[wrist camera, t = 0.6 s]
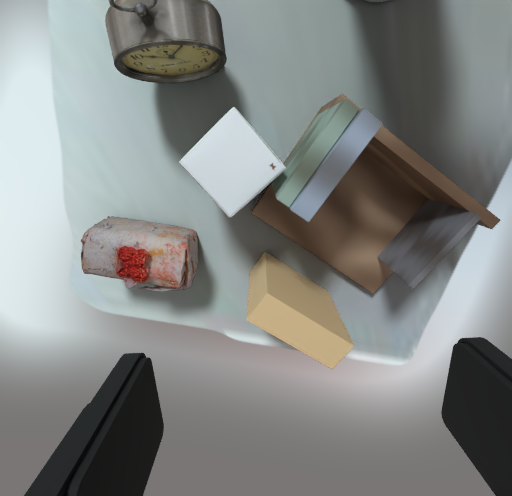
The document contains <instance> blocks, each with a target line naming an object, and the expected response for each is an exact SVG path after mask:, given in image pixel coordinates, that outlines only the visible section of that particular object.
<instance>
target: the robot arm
mask: <svg viewBox="0 0 512 496" xmlns="http://www.w3.org/2000/svg"><path fill="white" fill-rule="evenodd" d="M365 1H368V2H384V1H390V0H365ZM442 418H443V421H444V423H445V425H446V427H447V428H448V429H449V431H450V432H451V433H452V435H453V436H454V438H455V439H456V441H457V442H458V443H459V445H460V446H461V447H462V449H463V450H464V452H465V453H466V454H467V456H468V457H469V459H470V460H471V462H472V463H473V464H474V466H475V467H476V469H477V470H478V471H479V472H480V474H481V475H482V477H483V478H484V480H485V481H486V483H487V484H488V485H489V487H490V488H491V490H492V491H493V492H494V494H495V495H496V496H512V359H511V358H509V357H508V356H507V355H506V354H504V353H503V352H502V351H500V350H499V349H498V348H497V347H495V346H494V345H493V344H492V343H490V342H489V341H488V340H486V339H484V338H481V337H479V338H462V339H460V340H459V341H458V343H457V344H455V345H454V346H453V351H452V357H451V362H450V368H449V373H448V379H447V384H446V390H445V395H444V401H443V406H442ZM163 426H164V424H163V418H162V413H161V408H160V403H159V398H158V392H157V387H156V383H155V377H154V372H153V366H152V362H151V359H150V358H146V356H145V354H144V353H129V354H124V355H123V356H122V357H121V358H120V360H119V361H118V363H117V364H116V365H115V367H114V368H113V370H112V371H111V373H110V374H109V376H108V377H107V379H106V380H105V382H104V383H103V385H102V386H101V388H100V389H99V391H98V392H97V394H96V395H95V397H94V398H93V400H92V401H91V403H89V404H87V406H86V407H85V408H84V409H83V411H82V412H81V414H80V415H79V416H78V418H77V419H76V421H75V422H74V424H73V425H72V427H71V428H70V430H69V431H68V432H67V434H66V435H65V437H64V438H63V440H62V441H61V443H60V444H59V446H58V447H57V449H56V450H55V452H54V453H53V454H52V456H51V457H50V459H49V460H48V462H47V463H46V465H45V466H44V468H43V469H42V470H41V472H40V474H39V475H38V476H37V478H36V479H35V481H34V482H33V484H32V485H31V487H30V488H29V489H28V491H27V492H26V494H25V495H24V496H143V493H144V490H145V487H146V484H147V481H148V478H149V475H150V472H151V469H152V466H153V463H154V460H155V457H156V454H157V451H158V448H159V445H160V442H161V439H162V436H163V428H164V427H163Z"/></svg>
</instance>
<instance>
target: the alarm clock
mask: <svg viewBox="0 0 512 496" xmlns="http://www.w3.org/2000/svg"><path fill="white" fill-rule="evenodd" d="M109 3H110V7H109V9H108V11H107V14H106V28H107V33H108V37H109V42H110V46H111V50H112V55H113V59H114V65H115V67H116V68H117V70H118V71H120V72H121V73H122V74H124V75H126V76H128V77H131V78H133V79H137V80H141V81H147V82H158V83H177V82H186V81H192V80H197V79H201V78H204V77H208V76H210V75H212V74H214V73H216V72H218V71H219V70H221V69H222V68H223V67H224V65H225V63H226V59H227V58H226V54H225V46H224V38H223V30H222V23H221V18H220V15H219V13H218V11H217V10H216V8H215V7H214V6H213V5H212V4H211V3H210V2H209V1H208V0H115V1H114V0H109Z"/></svg>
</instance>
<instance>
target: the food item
mask: <svg viewBox="0 0 512 496" xmlns="http://www.w3.org/2000/svg"><path fill="white" fill-rule="evenodd" d="M81 242H82V244H83V245H82V253H81V260H82V269H83V272H84V273H85V274H94V275H99V276H105V277H110V278H118V279H123V280H124V281H125V282H126V288H132V287H133V286H134V285H135V284H136V285H137V283H138V282H139V283H140V282H141V283H149V284H153V285H154V286H156V287H153V288H151V287H147V286H145V287H143V288H140V289H146V290H152V291H160V292H162V291H168V290H179V289H183V290H185V289H188V288H190V286H191V284H192V281H193V279H194V277H195V273H196V270H197V263H198V239H197V234H196V231H194V230H190V229H186V228H183V227H178V226H173V225H166V224H160V223H153V222H147V221H141V220H134V219H128V218H119V217H109V216H108V218H107V219H104V220H102V221H101V222H99V223H98V224H95V225H94V226H93V227H91V228H89V229H88V230H87V231H86V232H85V233H84V235H83V238H82V240H81ZM134 283H135V284H134ZM127 286H128V287H127Z"/></svg>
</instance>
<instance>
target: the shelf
mask: <svg viewBox="0 0 512 496" xmlns="http://www.w3.org/2000/svg"><path fill="white" fill-rule="evenodd" d="M382 124H383V123H382V122H381V121H380V120H378V119H377V118H376V117H375V116H373V115H372V114H371V113H370V112H368V111H367V110H366V109H365V108H364V109H361V108H360V107H358V106H357V105H356V104H355V103H353V102H352V101H351V100H350V99H348V98H347V97H346V96H345V95H343V94H341V95H340V96H338V97H337V98H335V99H334V100H332V101H330V102H329V103H327V104H326V105H324V106H323V107H322V108H321V109H320V111H319V112H318V114H317V115H316V116H315V118H314V119H313V121H312V122H311V124H310V125H309V127H308V128H307V130H306V131H305V133H304V134H303V136H302V137H301V139H300V140H299V142H298V143H297V145H296V146H295V148H294V149H293V151H292V152H291V154H290V155H289V157H288V158H287V159H286V161H285V162H284V166H285V167H286V170H284V171H283V172H282V173H281V174H280V175H279V176H277V177H276V178H275V179H274V180H273V181H272V182H271V183H270V185H269V186H268V188H267V189H266V191H265V192H264V194H263V195H262V197H261V198H260V200H259V201H258V202H257V204H256V205H255V207H254V208H253V210H252V214H253V215H255V216H256V217H258V218H259V219H261V220H263V221H264V222H266V223H267V224H269V225H270V226H272V227H273V228H275V229H276V230H278V231H279V232H281V233H282V234H284V235H285V236H287V237H288V238H290V239H291V240H293V241H294V242H296V243H297V244H299V245H300V246H302V247H303V248H305V249H307V250H308V251H310V252H311V253H313V254H314V255H316V256H317V257H319V258H320V259H322V260H323V261H325V262H326V263H328V264H329V265H331V266H332V267H334V268H335V269H337V270H338V271H340V272H341V273H343V274H344V275H346V276H348V277H349V278H351V279H352V280H354V281H355V282H357V283H358V284H360V285H361V286H363V287H364V288H366V289H367V290H369V291H370V292H372V293H373V294H374V292H375V291H376V290H377V289H378V288H379V287H380V286H381V285H382V284H383V283H384V282H385V280H386V279H387V278H388V277H389V276H390V275H391V274H392V273H393V272H394V273H396V274H397V275H398V276H399V277H400V278H401V279H402V280H403V281H404V282H405V283H406V284H407V285H409V286H410V287H411V288H413V289H414V288H415V287H416V286H417V285H418V283H419V282H420V281H421V280H422V279H423V278H424V277H425V276H426V275H427V274H428V273H429V272H430V271H431V270H432V269H433V268H434V267H435V266H436V265H437V264H438V263H439V262H440V261H441V259H442V258H443V257H444V256H445V255H446V254H447V253H448V252H449V251H450V250H451V249H452V248H453V247H454V246H455V245H456V244H457V243H458V242H459V241H460V240H461V239H462V238H463V237H464V235H465V234H466V233H467V232H468V231H469V230H470V229H471V228H472V227H473V226H474V225H475V224H479V225H481V226H485V227H487V228H490V229H492V228H493V227H494V226H495V225H496V224H497V223H498V222H499V221H500V219H498V218H497V217H495V215H493V214H492V213H491V212H490V211H488V210H487V209H486V208H485V207H483V206H482V205H481V204H480V203H478V202H477V201H476V200H475V199H473V198H472V197H471V196H470V195H468V194H467V193H466V192H465V191H463V190H462V189H461V188H460V187H458V186H457V185H456V184H455V183H453V182H452V181H451V180H450V179H448V178H447V177H446V176H445V175H443V174H442V173H441V172H440V171H438V170H437V169H436V168H435V167H433V166H432V165H431V164H430V163H428V162H427V161H426V160H425V159H423V158H422V157H421V156H420V155H418V154H417V153H416V152H415V151H413V150H412V149H411V148H410V147H408V146H407V145H406V144H405V143H403V142H402V141H401V140H400V139H398V138H397V137H396V136H395V135H393V134H392V133H391V132H390V131H388V130H387V129H386V128H385V127H383V126H382Z"/></svg>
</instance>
